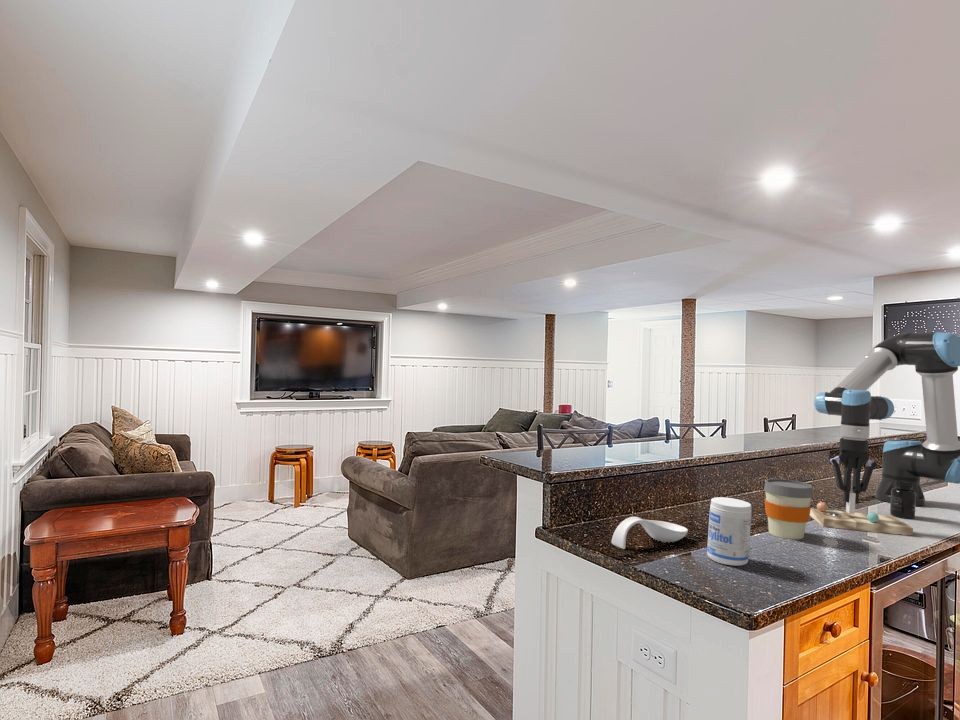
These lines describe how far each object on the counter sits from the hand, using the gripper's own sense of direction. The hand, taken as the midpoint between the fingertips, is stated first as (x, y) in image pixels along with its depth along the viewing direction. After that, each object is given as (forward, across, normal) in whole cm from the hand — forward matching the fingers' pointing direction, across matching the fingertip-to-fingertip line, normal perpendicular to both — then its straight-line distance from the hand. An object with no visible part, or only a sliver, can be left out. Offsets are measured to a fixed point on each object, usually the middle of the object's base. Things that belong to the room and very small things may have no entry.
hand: (850, 512), depth 179 cm
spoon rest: (+4, -63, -42) cm, 76 cm away
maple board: (+4, +2, 0) cm, 4 cm away
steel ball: (+2, -4, 0) cm, 4 cm away
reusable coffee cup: (+4, -24, -20) cm, 31 cm away
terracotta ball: (0, -7, +3) cm, 8 cm away
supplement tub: (+4, -45, -50) cm, 67 cm away
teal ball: (0, +4, -5) cm, 7 cm away
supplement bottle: (+4, +22, +19) cm, 30 cm away
